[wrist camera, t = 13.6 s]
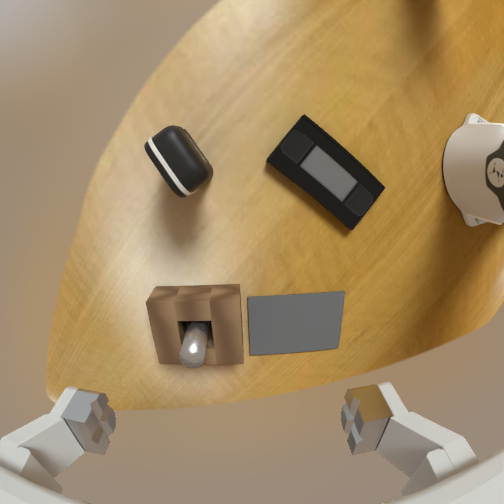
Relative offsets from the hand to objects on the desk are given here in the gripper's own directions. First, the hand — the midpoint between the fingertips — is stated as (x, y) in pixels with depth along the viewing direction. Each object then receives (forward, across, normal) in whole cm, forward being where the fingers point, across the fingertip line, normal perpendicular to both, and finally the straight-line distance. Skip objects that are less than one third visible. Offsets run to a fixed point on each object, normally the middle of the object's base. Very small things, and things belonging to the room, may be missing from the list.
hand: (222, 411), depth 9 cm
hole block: (+31, +6, +14) cm, 35 cm away
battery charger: (+31, +5, -8) cm, 33 cm away
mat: (+31, -8, +16) cm, 36 cm away
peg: (+31, +6, +14) cm, 35 cm away
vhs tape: (+32, -12, -6) cm, 34 cm away
